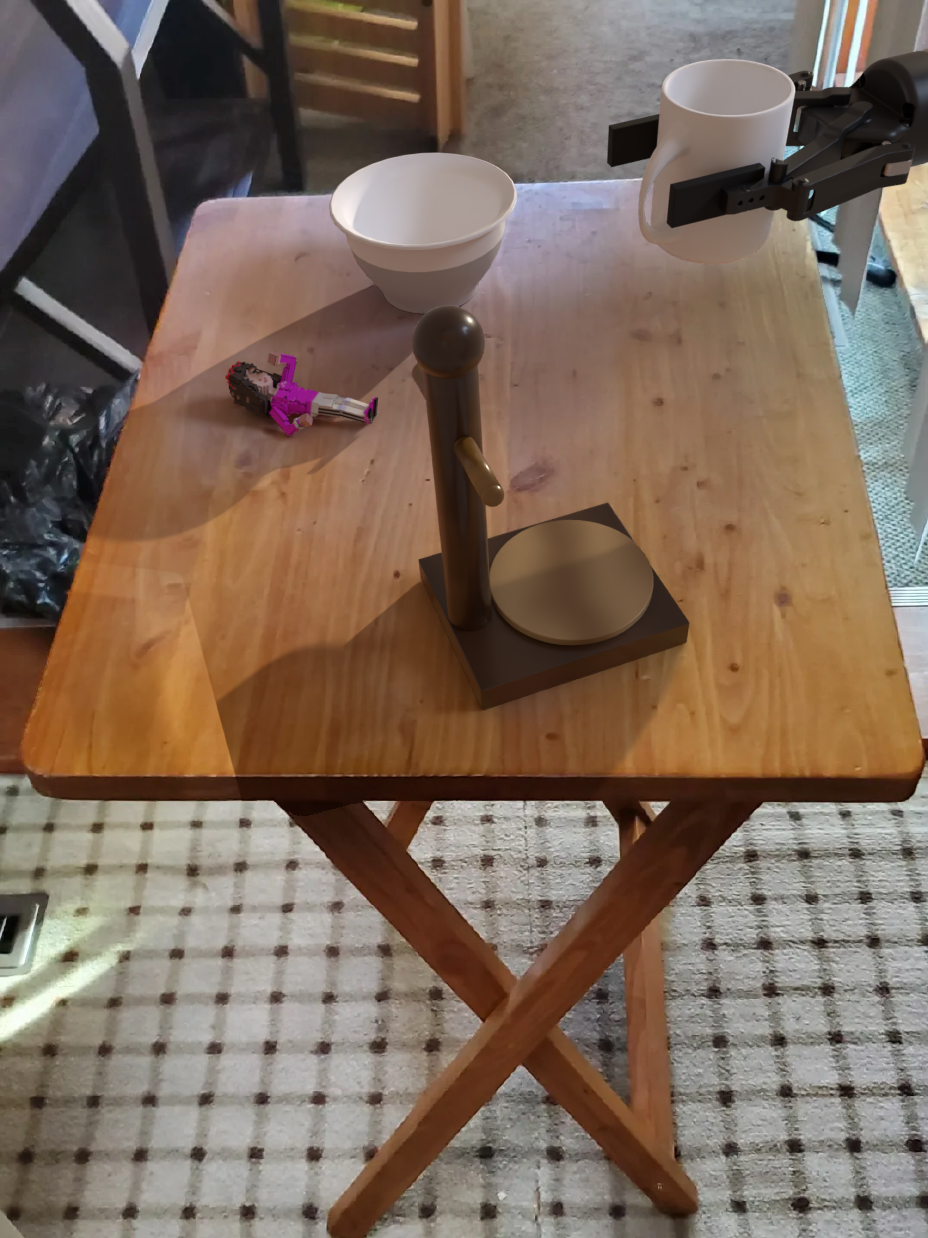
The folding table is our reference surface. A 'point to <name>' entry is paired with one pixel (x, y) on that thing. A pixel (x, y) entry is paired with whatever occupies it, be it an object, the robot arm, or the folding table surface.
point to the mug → (715, 151)
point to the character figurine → (290, 396)
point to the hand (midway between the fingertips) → (639, 175)
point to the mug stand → (523, 552)
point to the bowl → (425, 225)
